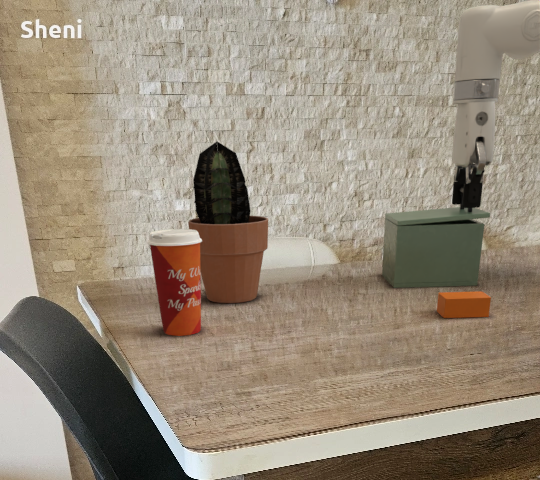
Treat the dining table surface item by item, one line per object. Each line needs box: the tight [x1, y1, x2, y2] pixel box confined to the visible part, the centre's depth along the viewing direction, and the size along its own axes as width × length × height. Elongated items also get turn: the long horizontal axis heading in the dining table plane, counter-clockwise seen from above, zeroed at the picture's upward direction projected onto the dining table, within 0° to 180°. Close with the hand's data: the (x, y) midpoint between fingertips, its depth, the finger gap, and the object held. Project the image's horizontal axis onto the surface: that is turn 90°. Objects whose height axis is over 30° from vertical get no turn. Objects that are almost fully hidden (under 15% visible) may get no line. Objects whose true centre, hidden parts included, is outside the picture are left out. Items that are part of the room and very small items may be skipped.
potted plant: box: [187, 141, 269, 304], centre depth 113 cm, size 14×14×25 cm
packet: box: [436, 290, 492, 319], centre depth 104 cm, size 7×4×3 cm, turn 91°
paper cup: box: [146, 228, 202, 337], centre depth 96 cm, size 8×8×14 cm
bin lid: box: [384, 184, 491, 226], centre depth 123 cm, size 16×13×5 cm
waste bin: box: [381, 217, 486, 289], centre depth 126 cm, size 16×13×11 cm
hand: (465, 204), depth 123 cm, fingers closed on bin lid, 6 cm apart
